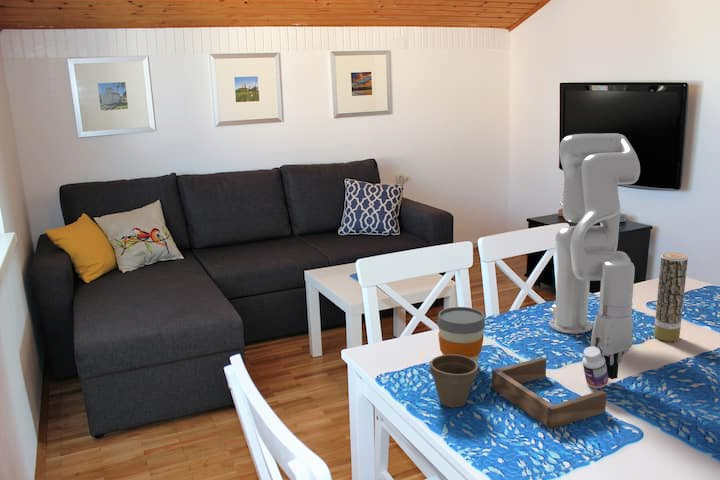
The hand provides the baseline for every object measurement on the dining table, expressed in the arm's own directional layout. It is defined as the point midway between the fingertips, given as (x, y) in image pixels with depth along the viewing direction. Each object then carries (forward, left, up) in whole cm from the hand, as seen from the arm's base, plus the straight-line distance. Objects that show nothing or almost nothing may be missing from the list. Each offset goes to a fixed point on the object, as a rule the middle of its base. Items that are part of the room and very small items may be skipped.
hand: (610, 376), depth 168 cm
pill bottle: (0, -4, -1) cm, 4 cm away
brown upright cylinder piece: (-12, +35, -2) cm, 37 cm away
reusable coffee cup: (-25, -28, -2) cm, 38 cm away
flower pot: (-10, -40, -2) cm, 42 cm away
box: (0, -20, -2) cm, 20 cm away
